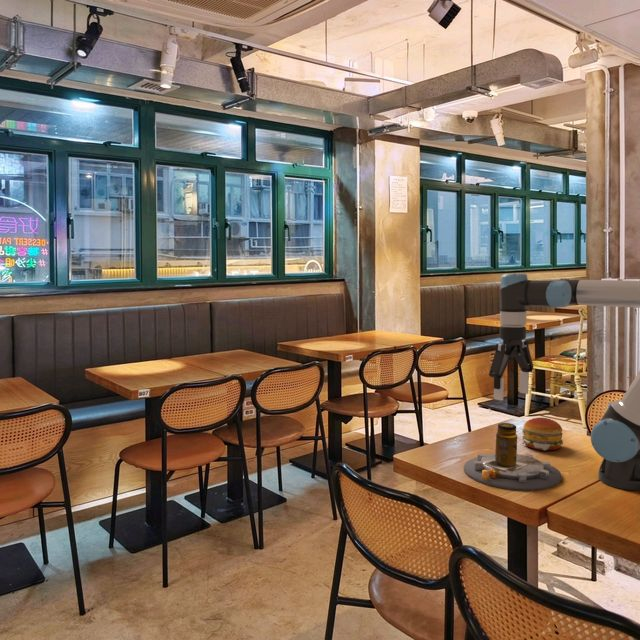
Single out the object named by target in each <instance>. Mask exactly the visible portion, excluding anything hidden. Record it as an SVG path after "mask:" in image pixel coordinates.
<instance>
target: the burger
mask: <svg viewBox="0 0 640 640" xmlns="http://www.w3.org/2000/svg"><path fill="white" fill-rule="evenodd" d="M521 432H522V433H523V436H522V438H521V439H522V441H521V443H522V444H525V446H527V447H529V448H531V449H533V450H540V451H554V450H558V449H559V448H561V446H562V445H563V444H564V440H563V439H562V438H563V428H562V426H561V425H560V423H559V422H557V421H556V420H554V419H552V418H547V417H535V418H531V419H528V420H527V421H525V423H524V425H523V429H522V431H521Z"/></svg>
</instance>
